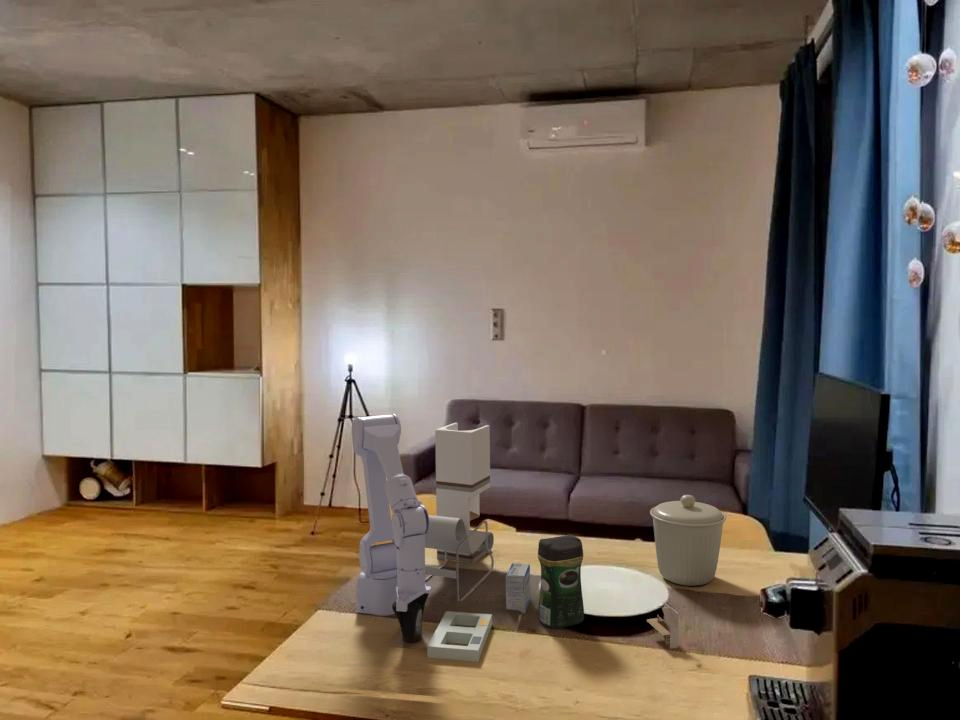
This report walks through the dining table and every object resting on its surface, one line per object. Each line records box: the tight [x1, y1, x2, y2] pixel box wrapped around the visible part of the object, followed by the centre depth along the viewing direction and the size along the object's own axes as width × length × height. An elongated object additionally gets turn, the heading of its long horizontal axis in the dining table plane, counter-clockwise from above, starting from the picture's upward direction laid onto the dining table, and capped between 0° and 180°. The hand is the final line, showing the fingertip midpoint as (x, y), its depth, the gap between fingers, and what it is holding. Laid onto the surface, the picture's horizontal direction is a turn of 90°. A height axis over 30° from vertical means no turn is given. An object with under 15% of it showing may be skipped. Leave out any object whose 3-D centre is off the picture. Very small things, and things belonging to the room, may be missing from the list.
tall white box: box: [434, 422, 491, 565], centre depth 199 cm, size 11×11×35 cm
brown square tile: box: [387, 627, 436, 651], centre depth 150 cm, size 8×8×1 cm
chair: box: [423, 514, 495, 602], centre depth 180 cm, size 13×25×20 cm, turn 159°
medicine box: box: [505, 562, 531, 615], centre depth 167 cm, size 8×4×9 cm, turn 168°
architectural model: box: [646, 602, 680, 650], centre depth 149 cm, size 3×7×7 cm, turn 15°
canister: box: [649, 494, 727, 587], centre depth 181 cm, size 18×18×21 cm
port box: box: [426, 610, 493, 663], centre depth 149 cm, size 10×16×3 cm, turn 170°
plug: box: [402, 603, 423, 643], centre depth 149 cm, size 4×4×7 cm
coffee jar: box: [537, 533, 585, 629], centre depth 158 cm, size 10×8×19 cm
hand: (412, 631), depth 150 cm, fingers open, 5 cm apart
